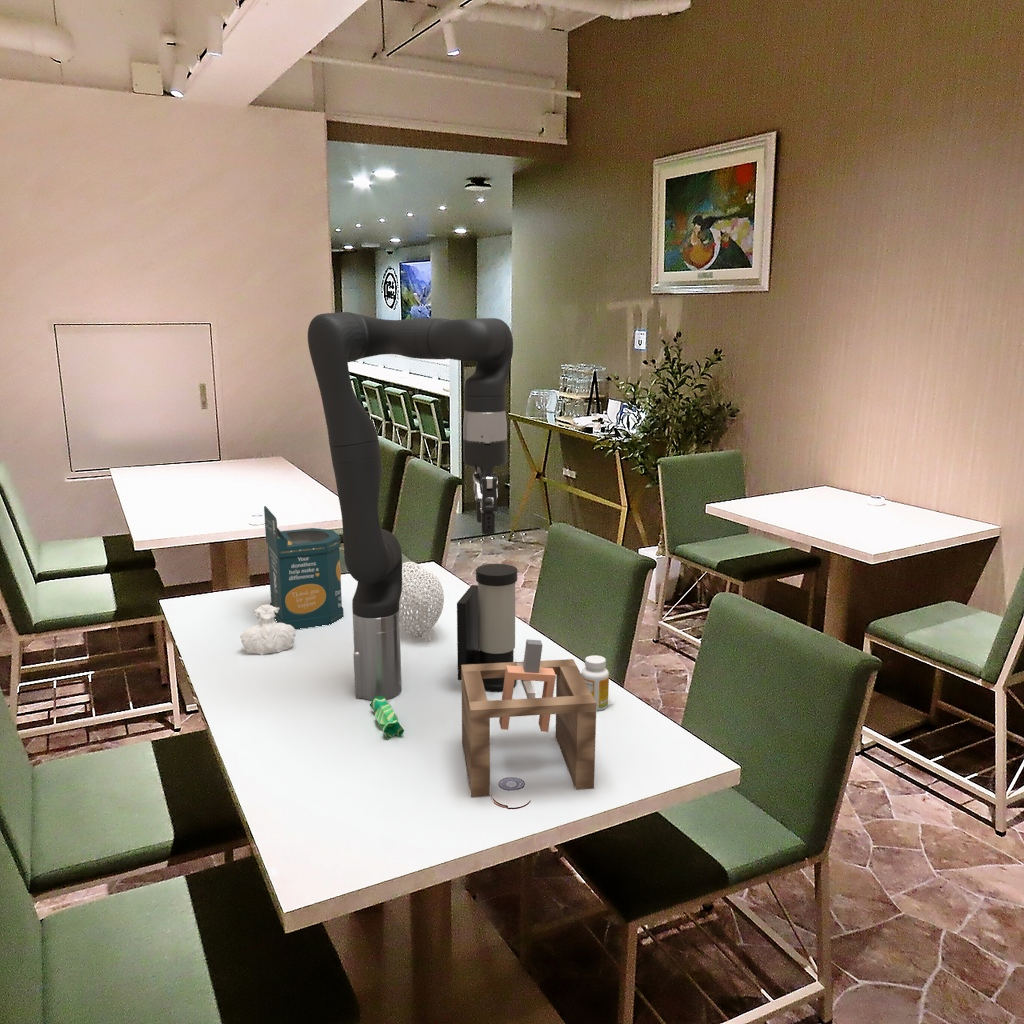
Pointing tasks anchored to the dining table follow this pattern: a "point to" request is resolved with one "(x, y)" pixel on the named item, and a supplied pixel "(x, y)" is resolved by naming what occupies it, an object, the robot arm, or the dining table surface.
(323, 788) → the dining table surface
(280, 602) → the donation box
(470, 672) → the wooden frame stand
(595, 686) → the supplement bottle
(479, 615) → the light fixture
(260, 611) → the bust
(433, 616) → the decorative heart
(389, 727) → the candy
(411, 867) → the dining table surface
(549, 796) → the dining table surface
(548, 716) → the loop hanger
